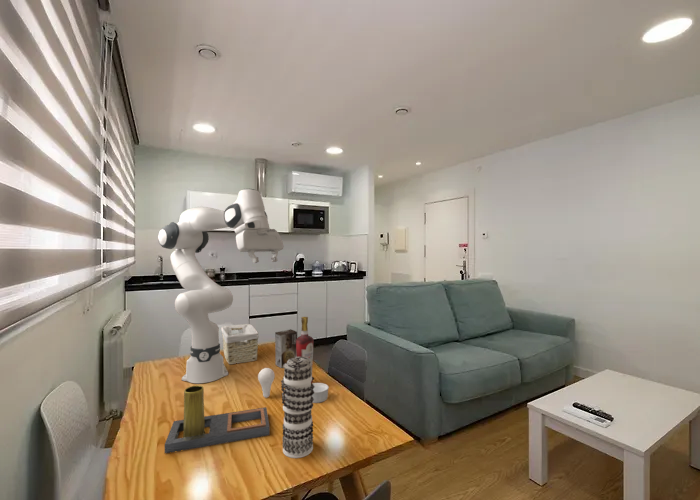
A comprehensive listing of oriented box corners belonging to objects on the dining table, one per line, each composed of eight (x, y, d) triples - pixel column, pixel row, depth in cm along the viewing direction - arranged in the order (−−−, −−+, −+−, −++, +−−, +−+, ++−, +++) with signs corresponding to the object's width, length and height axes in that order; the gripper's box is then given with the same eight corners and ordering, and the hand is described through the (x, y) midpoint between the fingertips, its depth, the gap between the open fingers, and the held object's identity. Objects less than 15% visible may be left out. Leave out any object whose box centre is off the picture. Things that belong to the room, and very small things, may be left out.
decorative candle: (283, 439, 95) (283, 354, 95) (315, 438, 96) (314, 353, 96) (278, 459, 86) (278, 365, 86) (313, 458, 87) (313, 364, 87)
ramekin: (300, 398, 123) (300, 386, 123) (319, 391, 129) (319, 380, 129) (313, 406, 116) (313, 394, 116) (333, 399, 122) (333, 387, 122)
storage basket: (259, 361, 164) (259, 332, 164) (225, 366, 157) (225, 336, 157) (251, 348, 186) (251, 323, 186) (220, 353, 178) (220, 326, 178)
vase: (184, 445, 93) (184, 395, 93) (180, 435, 98) (180, 387, 98) (207, 437, 96) (207, 389, 97) (202, 428, 101) (202, 383, 102)
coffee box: (291, 360, 165) (291, 329, 165) (297, 364, 160) (297, 331, 160) (274, 364, 159) (274, 331, 159) (281, 368, 154) (281, 334, 154)
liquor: (305, 379, 140) (305, 314, 140) (317, 384, 135) (317, 317, 136) (292, 385, 135) (292, 317, 135) (303, 389, 130) (303, 319, 130)
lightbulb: (270, 401, 120) (270, 371, 120) (255, 400, 121) (255, 370, 121) (277, 394, 126) (277, 366, 126) (262, 393, 127) (262, 365, 127)
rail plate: (173, 429, 101) (173, 420, 101) (266, 414, 110) (266, 406, 110) (164, 453, 89) (164, 443, 89) (269, 435, 98) (269, 425, 98)
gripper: (271, 231, 136) (279, 263, 133) (230, 229, 118) (238, 265, 116) (282, 226, 132) (290, 258, 130) (241, 223, 115) (250, 260, 113)
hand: (265, 262), depth 123 cm, fingers open, 8 cm apart
